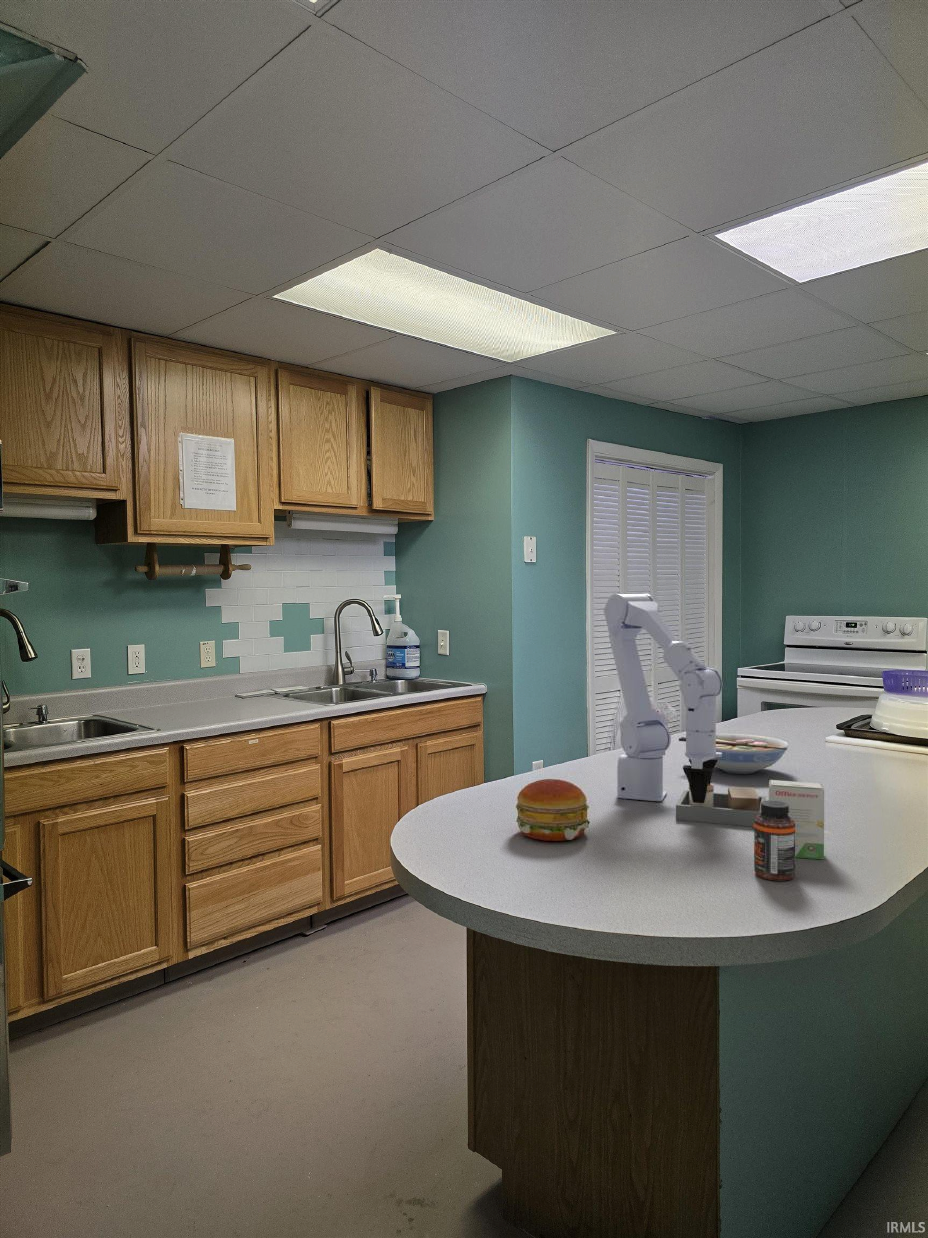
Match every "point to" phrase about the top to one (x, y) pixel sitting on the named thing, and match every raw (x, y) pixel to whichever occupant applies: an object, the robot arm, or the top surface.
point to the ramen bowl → (747, 752)
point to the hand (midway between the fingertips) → (700, 798)
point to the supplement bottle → (774, 842)
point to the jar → (708, 799)
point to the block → (743, 798)
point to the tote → (715, 811)
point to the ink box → (803, 814)
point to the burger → (552, 810)
